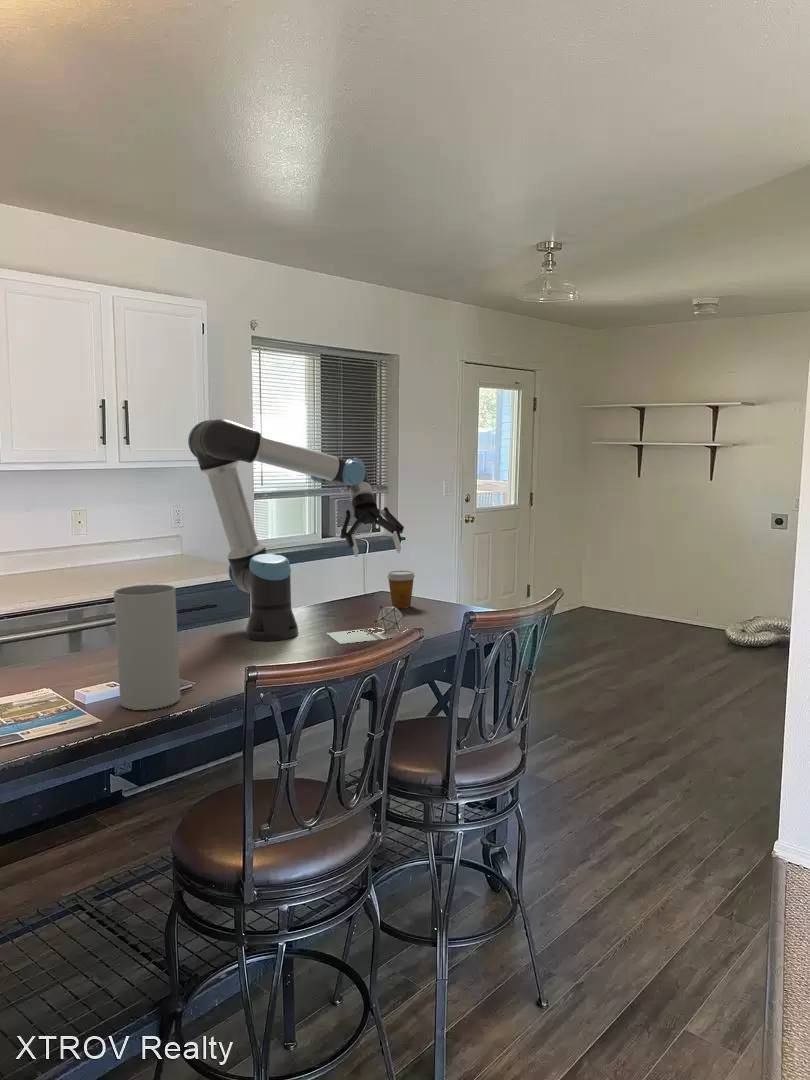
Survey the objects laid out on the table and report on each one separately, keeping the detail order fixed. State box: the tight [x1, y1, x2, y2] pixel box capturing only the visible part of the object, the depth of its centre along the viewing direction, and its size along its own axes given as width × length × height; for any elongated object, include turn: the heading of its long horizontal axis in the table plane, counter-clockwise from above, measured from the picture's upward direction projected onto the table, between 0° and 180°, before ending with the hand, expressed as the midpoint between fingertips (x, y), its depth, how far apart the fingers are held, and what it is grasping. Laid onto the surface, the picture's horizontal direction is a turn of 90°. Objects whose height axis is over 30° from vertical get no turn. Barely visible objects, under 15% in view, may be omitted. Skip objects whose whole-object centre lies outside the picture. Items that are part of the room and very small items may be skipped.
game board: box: [325, 627, 408, 645], centre depth 230 cm, size 24×14×1 cm, turn 112°
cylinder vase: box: [113, 584, 181, 710], centre depth 169 cm, size 12×12×25 cm
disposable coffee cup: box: [386, 570, 416, 609], centre depth 269 cm, size 10×10×12 cm
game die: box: [373, 604, 407, 633], centre depth 232 cm, size 9×8×10 cm
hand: (378, 552), depth 239 cm, fingers open, 13 cm apart
